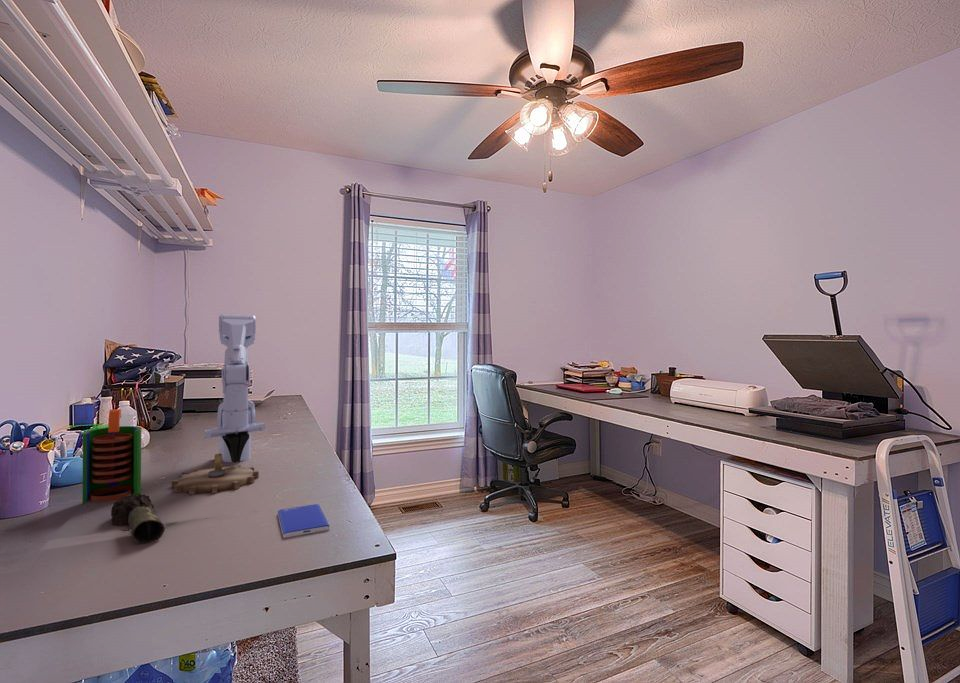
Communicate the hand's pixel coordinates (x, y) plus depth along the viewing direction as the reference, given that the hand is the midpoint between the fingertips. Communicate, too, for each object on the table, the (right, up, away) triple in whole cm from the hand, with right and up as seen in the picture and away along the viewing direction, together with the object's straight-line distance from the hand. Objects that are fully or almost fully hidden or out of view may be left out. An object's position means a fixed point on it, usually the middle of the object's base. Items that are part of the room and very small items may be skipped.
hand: (235, 461), depth 120 cm
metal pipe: (-1, -5, -33) cm, 33 cm away
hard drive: (+29, -5, -29) cm, 41 cm away
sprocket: (0, -3, -8) cm, 9 cm away
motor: (-18, -4, -18) cm, 26 cm away
